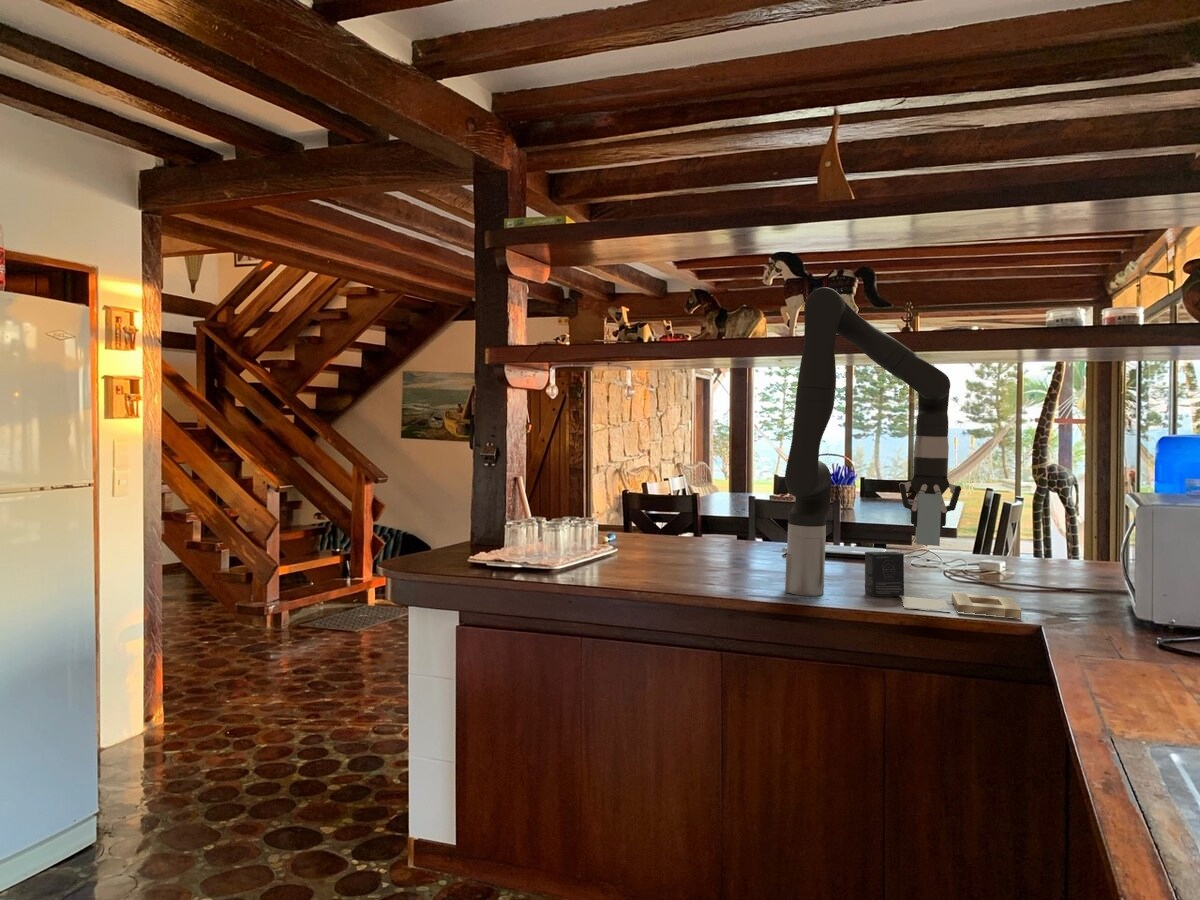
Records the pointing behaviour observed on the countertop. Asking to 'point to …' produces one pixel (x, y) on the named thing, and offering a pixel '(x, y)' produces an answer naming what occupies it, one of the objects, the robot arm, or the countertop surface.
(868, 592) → the box
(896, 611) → the countertop surface
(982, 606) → the pocket board
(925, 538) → the block
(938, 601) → the mat
